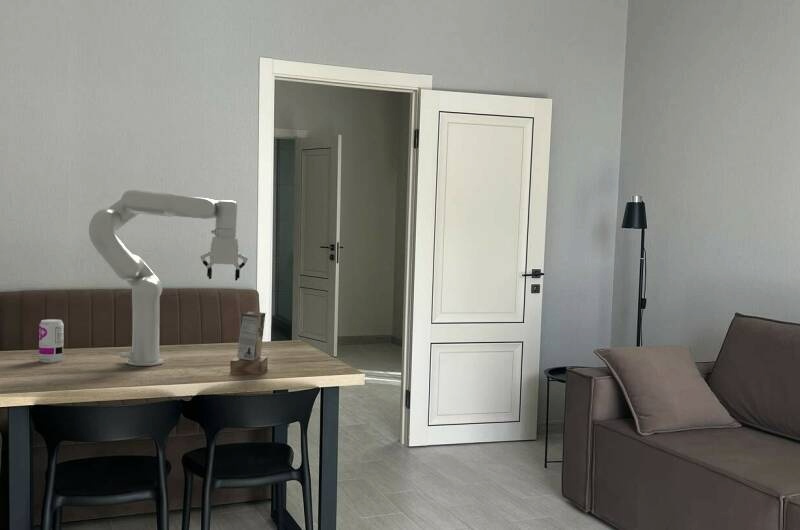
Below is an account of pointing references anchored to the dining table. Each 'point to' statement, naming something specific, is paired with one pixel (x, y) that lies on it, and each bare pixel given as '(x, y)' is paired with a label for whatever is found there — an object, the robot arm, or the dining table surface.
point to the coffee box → (251, 335)
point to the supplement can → (51, 340)
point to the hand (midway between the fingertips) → (223, 279)
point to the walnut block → (249, 366)
